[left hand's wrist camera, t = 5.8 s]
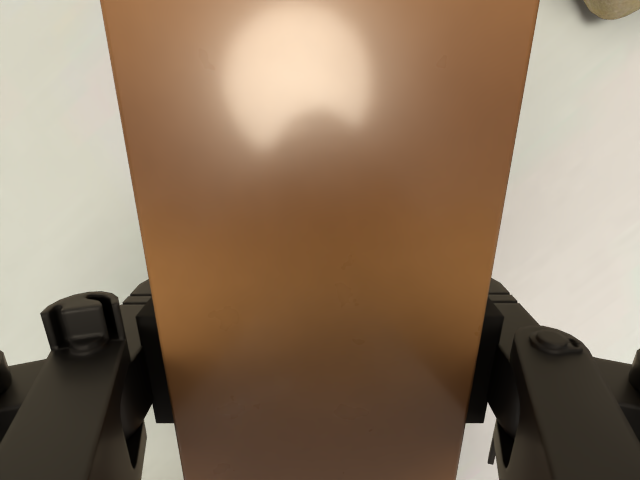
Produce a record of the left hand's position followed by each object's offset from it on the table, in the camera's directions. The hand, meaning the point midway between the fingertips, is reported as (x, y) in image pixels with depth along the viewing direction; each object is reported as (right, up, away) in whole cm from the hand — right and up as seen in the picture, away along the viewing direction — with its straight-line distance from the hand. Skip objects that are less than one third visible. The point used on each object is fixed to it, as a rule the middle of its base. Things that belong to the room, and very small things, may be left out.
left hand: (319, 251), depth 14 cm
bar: (0, +12, -4) cm, 13 cm away
